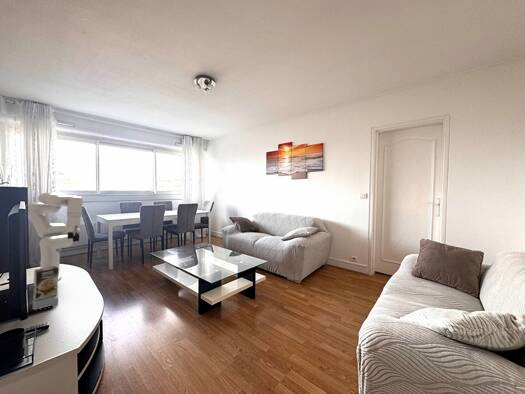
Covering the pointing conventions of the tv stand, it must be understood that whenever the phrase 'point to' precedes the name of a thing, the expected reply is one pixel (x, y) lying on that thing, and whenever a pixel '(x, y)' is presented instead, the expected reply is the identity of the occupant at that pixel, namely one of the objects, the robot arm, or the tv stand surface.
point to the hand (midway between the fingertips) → (73, 239)
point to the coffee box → (45, 282)
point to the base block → (46, 301)
